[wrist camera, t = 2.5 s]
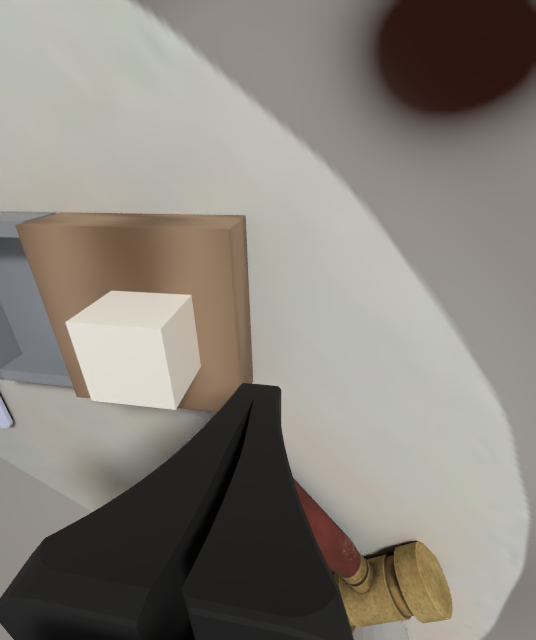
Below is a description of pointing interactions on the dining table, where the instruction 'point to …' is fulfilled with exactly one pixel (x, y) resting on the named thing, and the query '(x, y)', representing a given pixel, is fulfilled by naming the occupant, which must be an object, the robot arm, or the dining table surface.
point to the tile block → (137, 348)
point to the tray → (25, 314)
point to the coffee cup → (382, 632)
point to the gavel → (380, 576)
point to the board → (151, 283)
